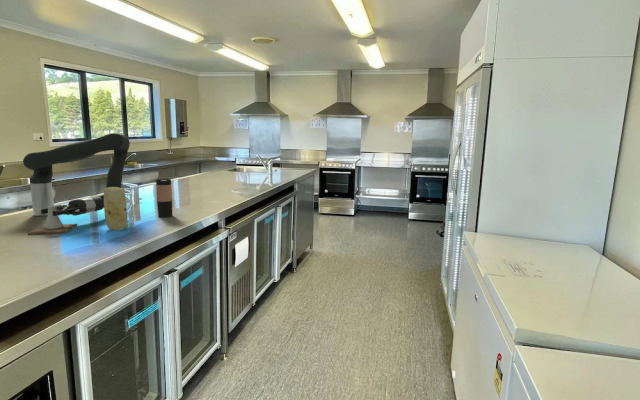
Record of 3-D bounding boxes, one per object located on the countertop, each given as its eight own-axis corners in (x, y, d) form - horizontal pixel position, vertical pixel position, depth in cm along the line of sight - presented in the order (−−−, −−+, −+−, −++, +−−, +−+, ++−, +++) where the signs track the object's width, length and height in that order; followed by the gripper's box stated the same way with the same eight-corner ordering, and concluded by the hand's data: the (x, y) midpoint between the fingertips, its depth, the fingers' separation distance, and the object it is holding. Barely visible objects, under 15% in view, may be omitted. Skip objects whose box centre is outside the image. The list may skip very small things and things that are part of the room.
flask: (53, 230, 165) (50, 208, 163) (39, 229, 166) (37, 207, 164) (67, 226, 172) (65, 205, 170) (54, 225, 173) (51, 204, 171)
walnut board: (43, 226, 174) (43, 224, 174) (77, 225, 177) (76, 223, 177) (27, 234, 161) (27, 232, 160) (64, 233, 164) (63, 231, 164)
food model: (130, 227, 177) (127, 186, 173) (125, 231, 170) (122, 188, 167) (108, 227, 176) (105, 186, 172) (102, 231, 169) (99, 188, 165)
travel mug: (154, 216, 200) (152, 180, 196) (165, 213, 207) (163, 178, 203) (165, 218, 197) (163, 181, 193) (176, 215, 204) (174, 179, 200)
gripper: (71, 197, 182) (36, 203, 167) (91, 200, 177) (56, 206, 162) (73, 212, 184) (37, 219, 169) (93, 215, 178) (58, 222, 164)
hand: (47, 212), depth 165 cm, fingers open, 8 cm apart
